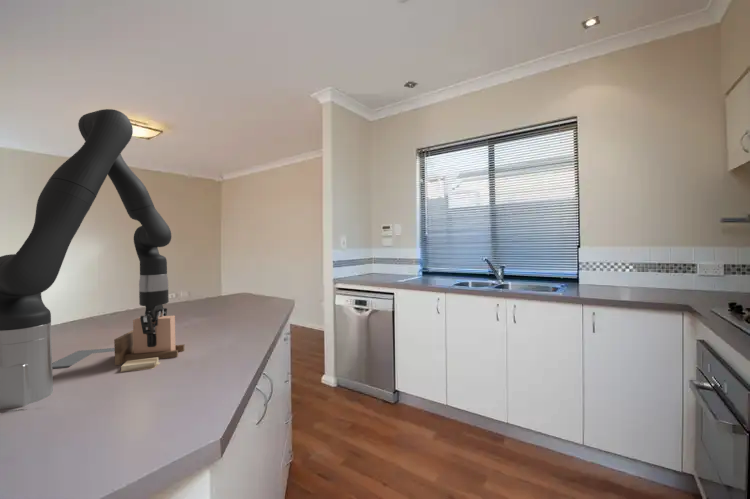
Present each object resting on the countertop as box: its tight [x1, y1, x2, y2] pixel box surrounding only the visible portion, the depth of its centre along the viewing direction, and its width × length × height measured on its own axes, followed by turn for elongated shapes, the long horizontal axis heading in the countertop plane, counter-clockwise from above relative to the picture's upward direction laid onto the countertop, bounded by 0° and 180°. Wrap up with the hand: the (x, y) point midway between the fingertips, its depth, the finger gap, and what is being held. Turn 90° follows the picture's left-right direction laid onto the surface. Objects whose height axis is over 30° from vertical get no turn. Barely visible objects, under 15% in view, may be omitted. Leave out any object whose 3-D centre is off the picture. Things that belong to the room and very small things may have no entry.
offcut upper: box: [120, 357, 159, 373], centre depth 92 cm, size 5×8×2 cm, turn 112°
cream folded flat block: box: [119, 362, 161, 373], centre depth 92 cm, size 5×8×2 cm, turn 104°
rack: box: [113, 329, 185, 366], centre depth 102 cm, size 12×15×8 cm
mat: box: [52, 347, 115, 370], centre depth 103 cm, size 16×16×1 cm
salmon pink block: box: [132, 315, 177, 354], centre depth 102 cm, size 4×10×12 cm, turn 103°
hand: (155, 344), depth 102 cm, fingers closed on salmon pink block, 4 cm apart
